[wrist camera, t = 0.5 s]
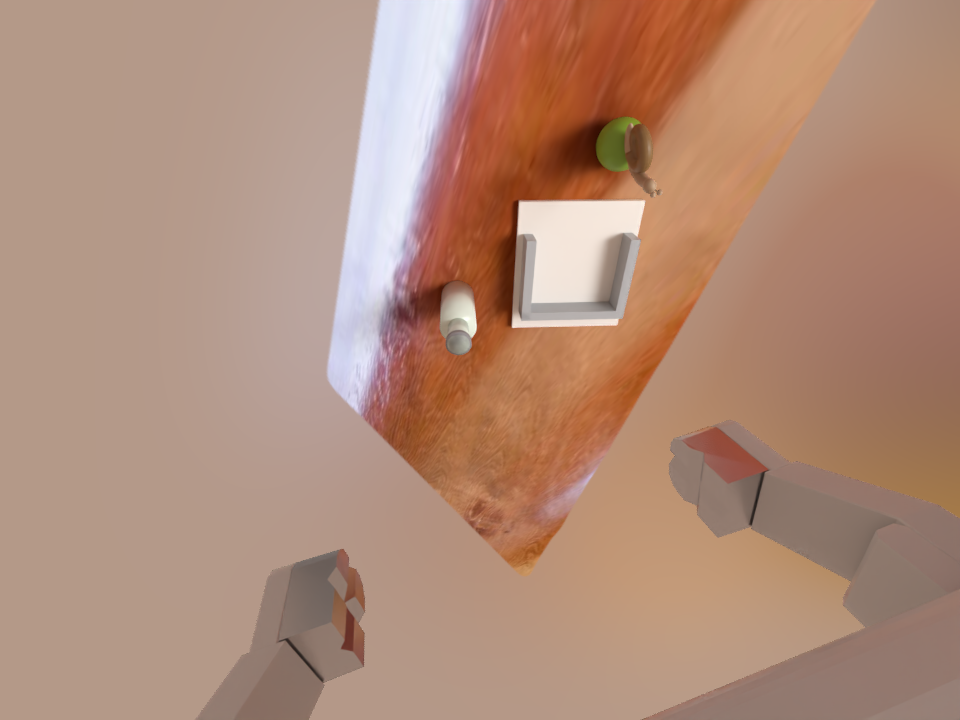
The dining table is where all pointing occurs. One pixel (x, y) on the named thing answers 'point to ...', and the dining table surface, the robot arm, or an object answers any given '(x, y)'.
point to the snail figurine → (627, 150)
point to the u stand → (574, 261)
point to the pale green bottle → (457, 317)
